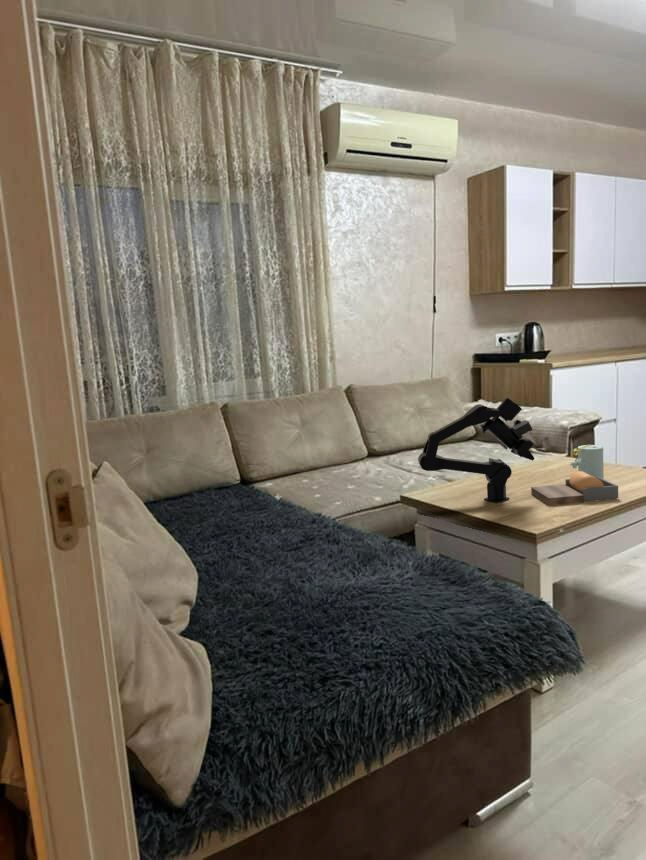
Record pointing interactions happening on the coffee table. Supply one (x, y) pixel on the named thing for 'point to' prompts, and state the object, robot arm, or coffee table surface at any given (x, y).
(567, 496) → the board
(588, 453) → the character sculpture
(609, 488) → the tray
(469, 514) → the coffee table surface
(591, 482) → the roller
